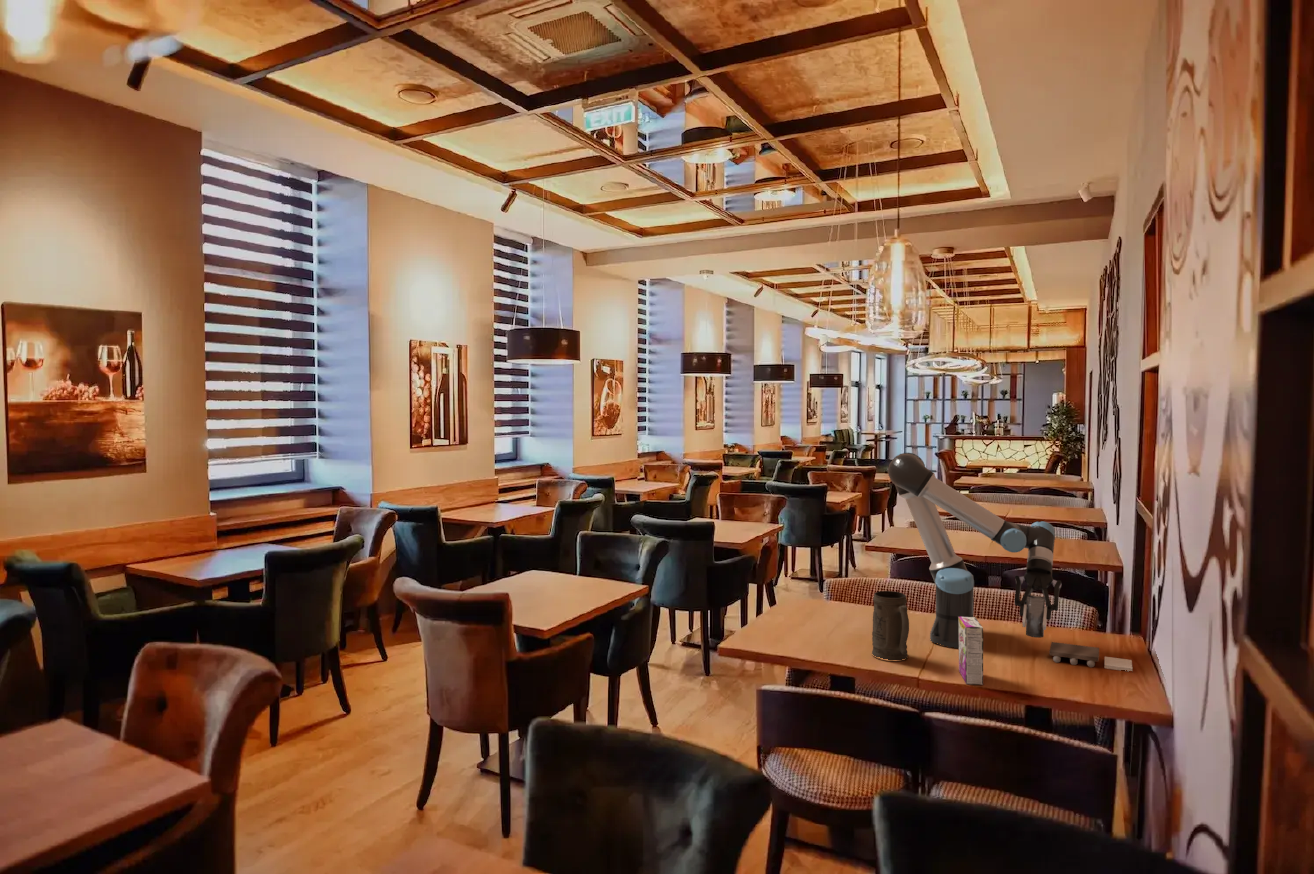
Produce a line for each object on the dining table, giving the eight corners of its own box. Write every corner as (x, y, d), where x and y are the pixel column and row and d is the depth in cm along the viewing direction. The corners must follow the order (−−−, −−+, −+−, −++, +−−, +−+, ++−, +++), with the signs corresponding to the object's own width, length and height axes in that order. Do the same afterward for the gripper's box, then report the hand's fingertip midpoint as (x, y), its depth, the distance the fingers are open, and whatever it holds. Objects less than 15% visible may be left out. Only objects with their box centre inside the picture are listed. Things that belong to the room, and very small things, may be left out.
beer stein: (863, 652, 244) (865, 591, 242) (890, 648, 248) (893, 587, 247) (896, 670, 230) (899, 605, 228) (924, 665, 234) (927, 601, 233)
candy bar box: (957, 671, 226) (957, 615, 226) (975, 672, 225) (975, 616, 225) (964, 684, 215) (965, 626, 215) (983, 685, 214) (984, 627, 214)
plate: (1104, 668, 228) (1104, 664, 228) (1104, 659, 236) (1104, 656, 236) (1132, 671, 224) (1132, 668, 224) (1131, 663, 232) (1131, 659, 232)
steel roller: (1025, 635, 241) (1026, 597, 240) (1026, 632, 245) (1027, 594, 244) (1043, 638, 238) (1044, 599, 238) (1044, 634, 242) (1045, 596, 242)
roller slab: (1049, 661, 234) (1049, 651, 234) (1051, 651, 244) (1051, 641, 244) (1098, 668, 228) (1098, 657, 228) (1099, 658, 237) (1099, 647, 237)
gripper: (1071, 574, 250) (1067, 637, 236) (1010, 567, 259) (1003, 628, 245) (1070, 560, 245) (1066, 623, 231) (1008, 554, 254) (1001, 615, 240)
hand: (1034, 625), depth 238 cm, fingers closed on steel roller, 5 cm apart
